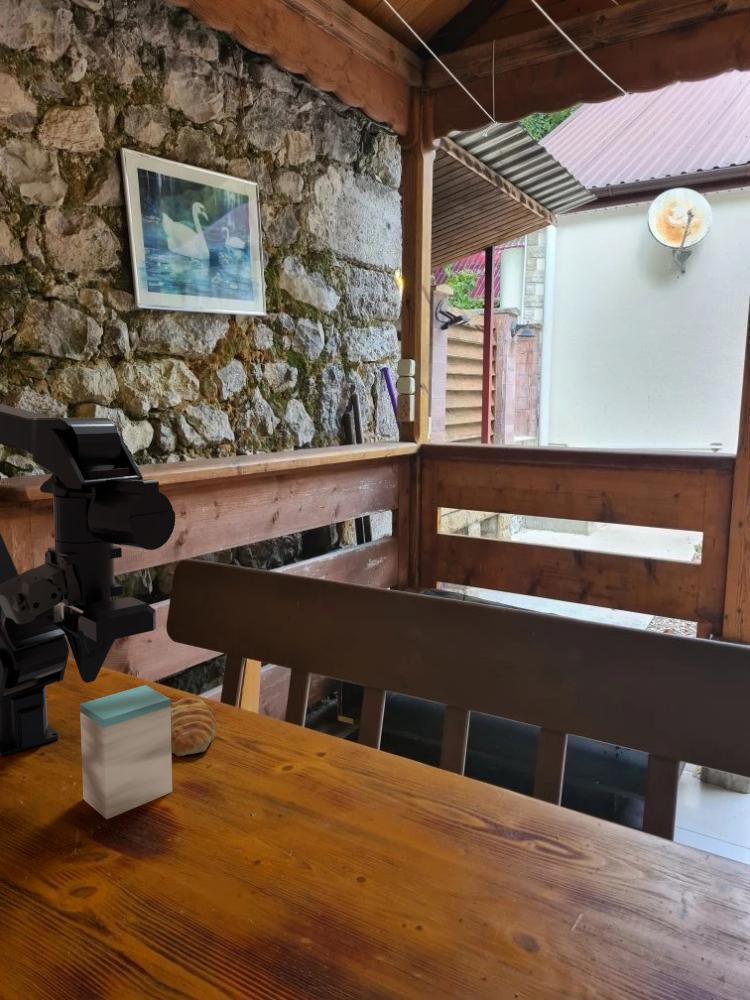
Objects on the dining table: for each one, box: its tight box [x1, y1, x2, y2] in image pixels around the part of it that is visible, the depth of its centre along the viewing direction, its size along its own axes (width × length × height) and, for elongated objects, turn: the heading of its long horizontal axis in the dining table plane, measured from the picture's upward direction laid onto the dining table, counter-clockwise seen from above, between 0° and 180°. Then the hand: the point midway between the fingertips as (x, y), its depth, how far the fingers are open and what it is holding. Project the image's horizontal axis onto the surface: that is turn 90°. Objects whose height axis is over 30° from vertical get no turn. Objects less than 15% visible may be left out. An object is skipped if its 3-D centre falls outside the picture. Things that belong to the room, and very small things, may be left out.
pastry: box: [170, 697, 218, 757], centre depth 84 cm, size 9×7×4 cm
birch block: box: [79, 684, 173, 820], centre depth 72 cm, size 5×7×10 cm
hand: (88, 681), depth 77 cm, fingers closed
